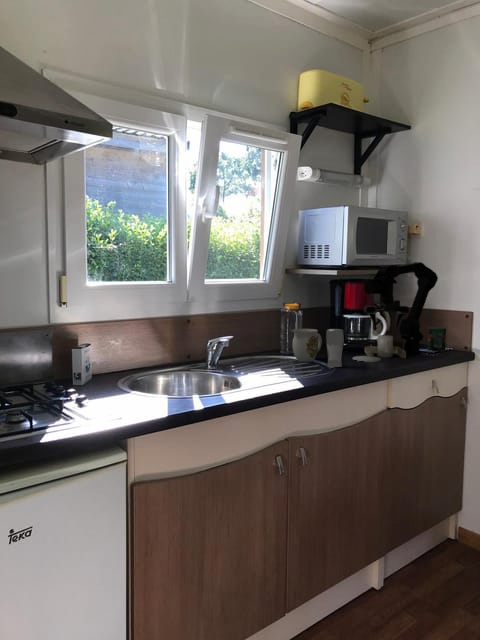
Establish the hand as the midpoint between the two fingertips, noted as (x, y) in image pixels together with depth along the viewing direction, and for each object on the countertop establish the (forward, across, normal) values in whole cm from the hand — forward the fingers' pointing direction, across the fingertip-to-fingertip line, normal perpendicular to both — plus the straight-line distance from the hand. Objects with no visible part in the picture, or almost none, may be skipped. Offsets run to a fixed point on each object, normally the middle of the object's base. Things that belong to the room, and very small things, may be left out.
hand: (385, 328), depth 246 cm
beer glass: (+12, -26, -26) cm, 39 cm away
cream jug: (+12, 0, -1) cm, 12 cm away
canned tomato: (+13, +28, +16) cm, 35 cm away
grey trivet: (+12, -10, -10) cm, 19 cm away
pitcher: (+12, -36, -12) cm, 40 cm away
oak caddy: (+12, 0, 0) cm, 12 cm away
